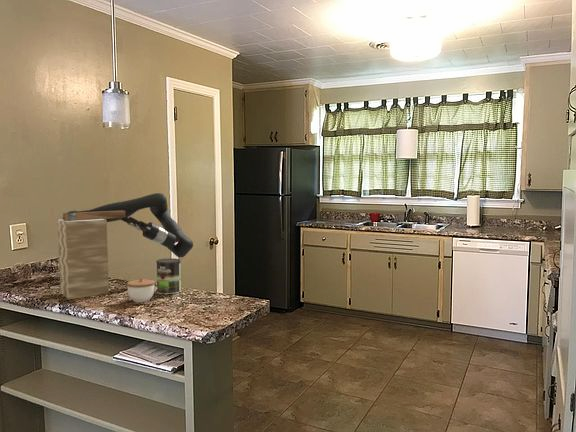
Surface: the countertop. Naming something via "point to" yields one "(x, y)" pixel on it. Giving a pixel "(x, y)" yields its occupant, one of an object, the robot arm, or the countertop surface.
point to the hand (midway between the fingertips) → (125, 218)
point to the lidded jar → (141, 290)
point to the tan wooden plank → (93, 215)
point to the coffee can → (168, 276)
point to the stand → (83, 257)
